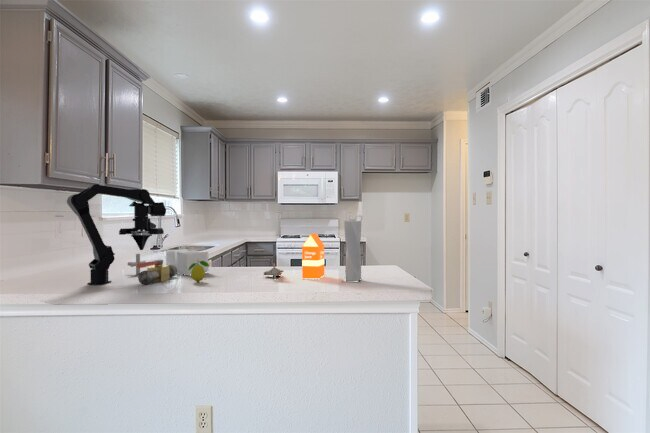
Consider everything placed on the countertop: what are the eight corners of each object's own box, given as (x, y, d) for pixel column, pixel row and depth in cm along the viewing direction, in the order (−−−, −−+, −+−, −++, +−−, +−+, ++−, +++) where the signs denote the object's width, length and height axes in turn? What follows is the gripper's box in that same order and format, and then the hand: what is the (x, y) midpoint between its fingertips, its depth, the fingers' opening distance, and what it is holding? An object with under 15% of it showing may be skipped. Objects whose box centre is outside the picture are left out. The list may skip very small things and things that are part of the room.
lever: (157, 263, 159) (157, 259, 159) (164, 263, 159) (164, 259, 159) (135, 267, 145) (135, 263, 145) (143, 267, 144) (143, 263, 144)
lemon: (209, 281, 153) (209, 258, 153) (198, 284, 148) (198, 260, 148) (198, 280, 156) (198, 257, 156) (187, 282, 151) (187, 259, 151)
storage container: (166, 271, 187) (166, 250, 187) (186, 269, 195) (186, 249, 195) (186, 276, 169) (186, 253, 169) (208, 273, 177) (208, 251, 177)
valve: (283, 279, 153) (260, 282, 153) (287, 281, 165) (266, 283, 165) (282, 262, 155) (259, 264, 155) (286, 264, 167) (265, 266, 167)
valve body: (152, 284, 147) (151, 267, 147) (137, 284, 148) (137, 267, 148) (177, 276, 167) (177, 261, 167) (164, 276, 167) (164, 261, 167)
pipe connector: (153, 272, 182) (153, 252, 182) (141, 275, 172) (141, 254, 172) (135, 272, 183) (134, 252, 183) (122, 275, 173) (121, 254, 173)
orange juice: (302, 279, 156) (301, 234, 156) (308, 276, 165) (308, 233, 165) (318, 280, 154) (318, 234, 154) (324, 276, 163) (324, 233, 163)
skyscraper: (364, 279, 154) (364, 215, 154) (361, 282, 146) (360, 215, 147) (345, 278, 157) (345, 215, 157) (341, 282, 149) (341, 215, 149)
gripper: (169, 216, 172) (170, 248, 171) (133, 216, 174) (134, 248, 174) (156, 216, 160) (156, 250, 160) (118, 216, 163) (118, 250, 162)
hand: (141, 250), depth 165 cm, fingers closed
